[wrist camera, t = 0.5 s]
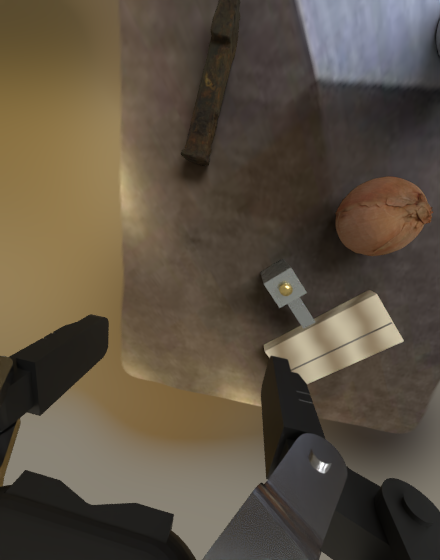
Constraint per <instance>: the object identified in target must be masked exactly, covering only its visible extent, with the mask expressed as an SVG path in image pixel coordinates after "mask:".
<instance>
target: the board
mask: <svg viewBox="0 0 440 560" xmlns="http://www.w3.org/2000/svg"><path fill="white" fill-rule="evenodd" d="M314 320H315V323H313V324H311V325H310V326H308V327H306V328H304V329H303V327H302V326H299V327H297V328H295V329H293V330H291V331H289V332H287V333H286V334H284V335H282V336H280V337H278V338H276V339H274V340H272V341H270V342H268V343H266V344H264V351H265V353H266V354H267V355H268V357H269V358H270V356H276V357H280V358H285V359H288V361H289V365H290V369H291V372H294V373H298V374H299V375H300V376H301V377H302V379H303V380H304V381H305V382H306V384H309V383H311V382H313V381H315V380H318V379H320V378H322V377H324V376H327V375H329V374H331V373H333V372H336V371H338V370H340V369H342V368H345V367H347V366H349V365H351V364H354V363H356V362H358V361H360V360H363V359H365V358H367V357H369V356H372V355H374V354H376V353H378V352H381V351H383V350H385V349H387V348H390V347H392V346H394V345H396V344H399V343H401V342H403V341H404V340H403V339H402V337H401V335H400V333H399V332H398V330H397V328H396V326H395V325H394V323H393V321H392V320H391V318H390V316H389V314H388V313H387V311H386V309H385V307H384V306H383V304H382V302H381V300H380V299H379V297H378V295H377V294H376V293H374V292H373V291H371V290H368V291H366V292H364V293H362V294H360V295H358V296H356V297H354V298H353V299H351V300H349V301H347V302H345V303H343V304H341V305H339V306H337V307H335V308H333V309H332V310H330V311H328V312H326V313H324V314H322V315H320V316H318V317H316V318H314Z"/></svg>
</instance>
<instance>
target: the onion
mask: <svg viewBox="0 0 440 560" xmlns="http://www.w3.org/2000/svg"><path fill="white" fill-rule="evenodd" d="M431 210H432V207H430V205H429V204H428V203H427V199H426V197H425V195H424V193H423V192H422V191H421V189H419V188H418V187H417V186H416V185H414V184H413V183H411V182H409V181H407V180H404V179H401V178H397V177H390V176H389V177H381V178H376V179H372V180H370V181H367V182H365V183H363V184H361V185H359V186H357V187H356V188H355V189H353V190H352V191H351V192H350V193H349V194H348V195H347V196H346V197H345V199H343V200H342V202H341V204H340V206H339V207H338V209H337V211H336V213H335V214H336V223H335V225H336V230H337V233H338V236H339V238H340V240H341V242H342V243H343V244H344V245H345V246H346V247H347V248H349V249H350V250H352V251H354V252H355V253H360V254H364V255H368V256H377V255H384V254H388V253H391V252H394V251H397V250H399V249H401V248H403V247H405V246H406V245H407V244H409V243H410V242H411V241H412V240H413V239H414V238H415V237H416V236H417V235H418V234H419V233H420V231H421V230H422V228H423V226H424V224H425V223H428V222H429V223H430V222H431V218H432V217H431V213H433V211H431Z"/></svg>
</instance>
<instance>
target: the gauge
mask: <svg viewBox="0 0 440 560" xmlns="http://www.w3.org/2000/svg"><path fill="white" fill-rule="evenodd" d="M261 276H262V280H263V284H264V285H265V287H266V288H267V290H268V291H269V293H270V294H271V296H272V297H273V299H274V300H275V302H276V303H277V305H278V306H279V308H281V307H283V306H284V305H286V304H288V306H289V307H290V309H291V310H292V312H293V313H294V315H295V317H296V318H297V320H298V321H299V323H300V324H301V326H302V327H303V329H304V328H306V327H308V326H310V325H311V324H313V323H315V320H314V319H313V317H312V316H311V314H310V313H309V311H308V309H307V308H306V306H305V305H304V303H303V302H302V300H301V298H300V296H302V295H304V294H306V293H307V292H306V291H305V289H304V287H303V286H302V284H301V283H300V281H299V279H298V278H297V276H296V275H295V273H294V271H293V270H292V268H291V267H290V266H289V265H288V264H287V263H286V262H285V261H284V260H283V259H281V260H279V261H278V262H276V263H274V264H273V265H271V266H270V267H268V268H266V269H265V270H263V271H261Z"/></svg>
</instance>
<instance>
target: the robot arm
mask: <svg viewBox="0 0 440 560" xmlns="http://www.w3.org/2000/svg"><path fill="white" fill-rule="evenodd" d="M436 43H437V49H438V53H439V56H440V20H439V23H438V27H437V34H436ZM108 327H109V323H108V319H107V318H105V317H101V316H96V315H88V316H86V317H85V318H83V319H81V320H80V321H78V322H75V323H72V324H69V325H65V326H63V327H61V328H59V329H58V330H56V331H54V332H53V333H51V334H49V335H47V336H45V337H44V339H43V338H42V339H40V340H38V341H36V342H35V343H33V344H31V345H29V346H28V347H26V348H24V349H22V350H20V351H19V352H17V353H15V354H13V355H12V356H10V357H6V356H0V560H196V559H195V557H194V555H193V554H192V552H191V551H190V549H189V548H188V546H187V545H186V544H185V543H184V542H183V541H182V540H181V539H180V537H179V536H178V535H176V534H175V533H174V532H173V531H171V529H172V523H173V516H174V514H171V513H168V512H164V511H161V510H157V509H154V508H151V507H148V506H144V505H141V504H138V503H127V504H126V503H125V504H105V505H90V504H88V503H86V502H85V501H84V500H83V499H82V498H80V497H79V496H78V495H77V494H76V493H74V492H73V491H72V490H71V489H70V488H69V487H67V486H66V485H65V484H64V483H63V482H62V481H60V480H57V479H54V478H51V477H47V476H44V475H41V474H37V473H34V472H30V471H27V470H25V471H24V472H23V473H22V474H21V476H20V477H19V478H18V479H17V480H16V481H15V482H14V483H13V484H12V485H7V486H3V481H4V476H5V473H6V469H7V466H8V463H9V460H10V456H11V453H12V450H13V447H14V444H15V440H16V437H17V434H18V431H19V427H20V423H21V421H20V417H21V416H23V415H24V414H25V413H26V412H28V413H32V414H35V415H39V416H40V415H41V414H43V413H44V412H45V411H46V410H47V409H48V408H49V407H50V406H51V405H52V404H53V403H54V402H56V401H57V400H58V399H59V398H60V397H61V396H62V395H63V394H64V393H65V392H66V391H67V390H68V389H69V388H71V387H72V386H73V385H74V384H75V383H76V382H77V381H78V380H79V379H80V378H81V377H83V375H85V374H86V373H87V372H88V371H89V370H90V369H91V368H92V367H93V366H94V365H95V364H96V363H97V362H98V361H100V359H102V358H103V357H104V355H105V353H106V351H107V348H108ZM309 394H310V393H309V390H308V387H307V384H306V382H305V381H304V380H303V379H302V377H301V376H300V375H299V374H298V373H294V372H291V369H290V365H289V361H288V359H285V358H280V357H276V356H270V358H269V361H268V365H267V369H266V372H265V376H264V380H263V384H262V390H261V403H262V419H263V435H264V451H265V466H266V479H268V481H267V482H266V483H265V484H263V483H260V484H259V485H258V486H257V487H256V488H255V489H254V490H253V492H252V493H251V494H250V496H249V497H248V498H247V500H246V501H245V503H244V504H243V505H242V507H241V508H240V509H239V511H238V512H237V513H236V515H235V516H234V517H233V519H232V520H231V521H230V523H229V524H228V525H227V527H226V528H225V529H224V531H223V532H222V533H221V535H220V536H219V537H218V539H217V540H216V541H215V543H214V544H213V546H212V547H211V548H210V550H209V551H208V552H207V554H206V555H205V556H204V558H203V559H202V560H319V558H320V555H321V551H322V552H323V553H325V554H326V555H327V556H329V557H330V558H331V559H333V560H440V512H439V510H438V509H437V508H436V506H435V505H434V504H433V503H432V502H431V501H430V500H429V499H428V498H427V497H426V496H425V495H423V494H422V493H421V492H420V491H418V490H417V489H416V488H414V487H413V486H411V485H410V484H408V483H406V482H404V481H401V480H399V479H395V478H389V479H386V480H385V481H384V482H383V484H382V486H381V487H380V486H378V485H377V484H375V483H373V482H371V481H370V480H368V479H366V478H364V477H362V476H361V475H359V474H357V473H355V472H354V471H352V470H351V469H349V468H348V467H347V466H346V464H345V462H344V460H343V458H342V457H341V455H340V453H339V452H338V451H337V450H336V448H335V447H334V446H333V445H332V444H331V443H329V442H328V441H327V440H326V439H325V436H324V433H323V430H322V428H321V425H320V422H319V419H318V416H317V413H316V410H315V407H314V405H313V404H312V399H311V396H310V395H309Z"/></svg>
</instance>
